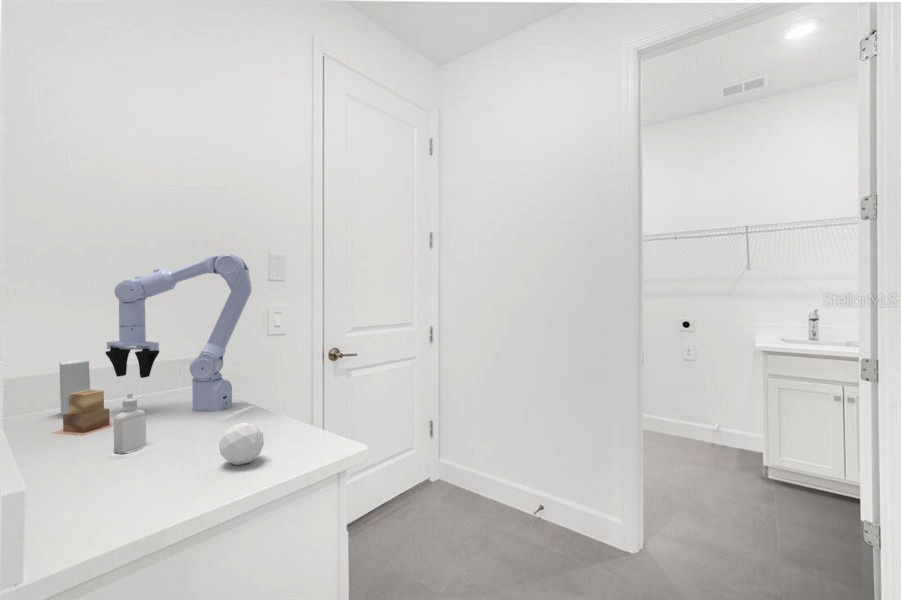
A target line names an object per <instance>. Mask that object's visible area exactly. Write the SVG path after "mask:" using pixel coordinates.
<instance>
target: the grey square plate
mask: <svg viewBox="0 0 901 600" xmlns="http://www.w3.org/2000/svg"><path fill="white" fill-rule="evenodd" d="M112 427H113V428H114V422H110V425H109V426H105V427H102V428H99V429H96V430H92V431H89V432H86V433H78V432H66V431H63V429H59V430H56V431H53V432H51V434H57V435H69V436H81V437H83V436H86V435H87V436H88V435H91V434H93V433H97V432H99V431H102V430H106V429H109V428H112Z"/></svg>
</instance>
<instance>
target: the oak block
mask: <svg viewBox="0 0 901 600" xmlns="http://www.w3.org/2000/svg"><path fill="white" fill-rule="evenodd" d="M104 394H105V392H104V390H99V389H90V390H85V391H80V392H76V393H71V394H69V413H71V414H88V413H92V412H96V411H100V410H103V409H104V408H105V395H104Z"/></svg>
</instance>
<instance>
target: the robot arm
mask: <svg viewBox="0 0 901 600" xmlns="http://www.w3.org/2000/svg"><path fill="white" fill-rule="evenodd" d="M206 274H213V275H214V274H215V275H219V276H220V277H222V279H224V281H225V282H226V284H227V286H228V287H229V289H230V293H229V295H228V297H227V299H226V302H225V303H224V306H223V308H222V310H221V312H220V315H219V316H218V318H217V321H216V323H215V324H214V327H213V330H212V331H211V334H210V336H209V338H208V339H207V342H206V344H205V345H204V346H203V348H202V349H201V350H200V353H199V355H198V356H197V357H196V358H195V359H193V360H192V361H191V363H190V365H189V372H190V374H191V376H192V384H191V385H192V386H191V387H192V411H196V412H220V411H223V410H227V409H229V408H231V407H233V387H232V386H233V385H232V382H231V381H230V380H228V379H224V378H223V374H222V373H221V372H220V371H221V370H222V369H223V366H224V356H225V353H226V349H227V346H228V344H229V341H230V339H231V337H232V335H233V333H234V331H235V328H236V326H237V324H238V322H239V319H240V318H241V315H242V314H243V311H244V309H245V308H246V307H245V306H246V305H247V303H248V300H249V299H250V296H251V294H252V290H253V289H252V283H251V278H250V269H249V267H248V266H247V264H246V262H245V261H244V259H243V258H241V257H239V256H237V255H234V254H231V253H222V254H220V255H219V256H218V255H214V256H211V257H207V258H204V259H202V260H199V261H196V262H193V263H191V264H188V265H186V266H183V267H180V268H178V269H175V270H173V271H170V270H168V269H160V268H156V269H154V270H153V271H152V272H151V273H148V274H146V275H143V276H140V275H137V276H134V280H131V279H125V280H122V281H121V282H119V283H117V284H116V286H115V288H114V295H115V298H116V299H118V332H119V333H118V334H119V335H118V340H119V341H118V340H114V341H113V340H112V341H107V342H106V349H107V350H106V351H105V355H106V357H108V359H109V360H110V362H111V364H112V366H113V369H114V372H115V375H116V377H118V378H119V377H123V376H126V375H127V367H128V358H129V355H130V352H131V350H136V351H135V352H134V354H135V356H136V359H137V362H138V367H139V368H138V369H139V376H140V379H143V378H144V379H145V378H149V377H150V375H151V371H152V369H153V365H154V362H155V360H156V359H157V357H158V355H159V354H160V345H159V343H160V342H156V341H155V342H154V341H147V340H146V337H147V334H146V332H147V331H146V300H147V299H148V298H151V297H154V296H158V295H160V294H162V293H165V292H168V291H171V290H174V289H175V287H176V285H177V284H178V283H179V282H182V281H185V280H186V281H187V280H189V279H192V278H195V277H198V276H199V277H200V276H202V275H206Z"/></svg>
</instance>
